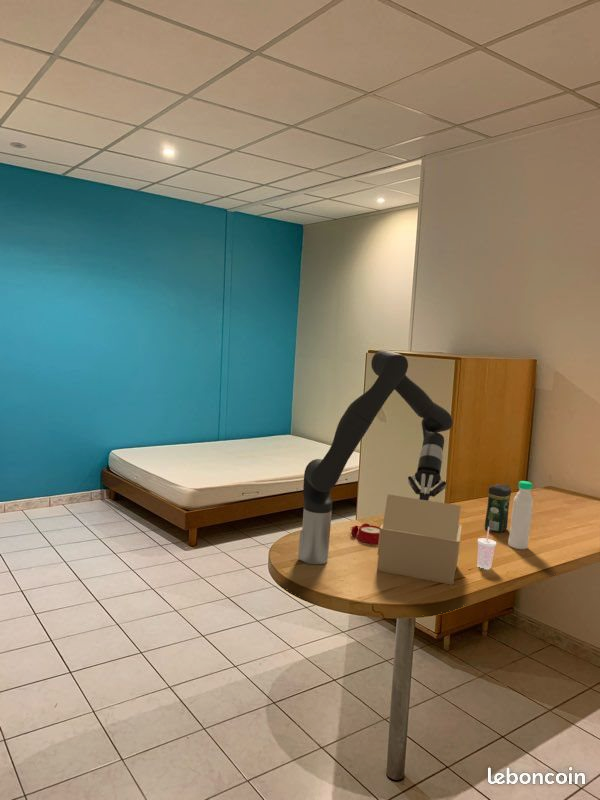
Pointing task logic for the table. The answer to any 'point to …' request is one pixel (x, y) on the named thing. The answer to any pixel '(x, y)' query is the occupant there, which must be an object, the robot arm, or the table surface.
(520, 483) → the water bottle
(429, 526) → the carton flap
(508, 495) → the coffee jar
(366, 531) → the alarm clock
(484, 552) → the beverage cup
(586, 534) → the table surface
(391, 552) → the carton
